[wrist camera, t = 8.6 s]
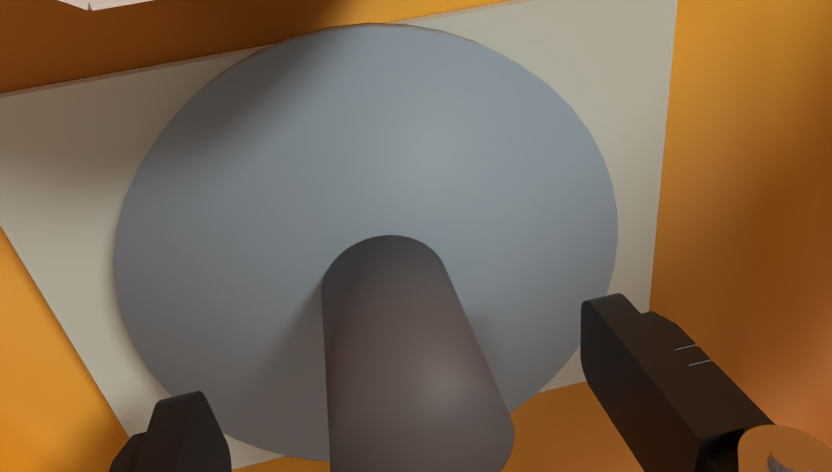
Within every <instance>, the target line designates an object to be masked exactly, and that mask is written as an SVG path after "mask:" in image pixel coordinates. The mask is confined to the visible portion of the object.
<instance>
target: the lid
mask: <svg viewBox="0 0 832 472" xmlns="http://www.w3.org/2000/svg"><path fill="white" fill-rule="evenodd" d="M617 242H618V219H617V207H616V201H615V195H614V189H613V184H612V181H611V178H610V175H609V172H608V169H607V166H606V163H605V160H604V158H603V156H602V154H601V152H600V150H599V148H598V146H597V144H596V142H595V140H594V138H593V137H592V135H591V133H590V131H589V130H588V128H587V127H586V126H585V124H584V123H583V122H582V120H581V119H580V118H579V116H578V115H577V114H576V112H575V111H574V110H573V108H572V107H571V106H570V105H569V104H568V103H567V102H566V101H565V100H564V99H563V98H562V97H561V96H560V95H559V94H558V93H557V92H556V91H554V90H553V89H552V88H551V87H550V86H549V85H548V84H547V83H545V82H544V81H543V80H541V79H540V78H538V77H537V76H536V75H534V74H533V73H531V72H530V71H528V70H527V69H526V68H524V67H523V66H521V65H520V64H518V63H516V62H514V61H513V60H511V59H509V58H507V57H506V56H504V55H502V54H500V53H498V52H496V51H494V50H492V49H490V48H488V47H486V46H484V45H482V44H480V43H478V42H476V41H473V40H470V39H466V38H463V37H460V36H457V35H454V34H451V33H448V32H445V31H442V30H437V29H431V28H425V27H419V26H414V25H408V24H390V23H362V24H352V25H343V26H334V27H328V28H324V29H320V30H316V31H312V32H308V33H304V34H300V35H296V36H292V37H290V38H287V39H285V40H282V41H280V42H278V43H275V44H273V45H270V46H268V47H265V48H263V49H260V50H258V51H256V52H254V53H253V54H251V55H249V56H248V57H246V58H244V59H242V60H241V61H239V62H237V63H236V64H234V65H232V66H231V67H229V68H227V69H226V70H224V71H222V72H221V73H220V74H219V75H217V76H216V77H215V78H214V79H213V80H211V81H210V82H209V83H208V84H206V85H205V86H204V87H203V88H201V89H200V90H199V91H198V92H196V93H195V94H194V95H193V96H192V97H191V98H190V99H189V100H188V102H187V103H186V104H185V105H184V106H183V107H182V108H181V109H180V110H179V111H178V113H177V114H176V115H175V116H174V117H173V118H172V119H171V120H170V121H169V123H168V124H167V125H166V127H165V128H164V129H163V131H162V132H161V133H160V135H159V136H158V138H157V139H156V141H155V142H154V144H153V145H152V147H151V148H150V150H149V151H148V153H147V154H146V156H145V157H144V159H143V160H142V162H141V163H140V165H139V167H138V169H137V171H136V173H135V176H134V178H133V180H132V182H131V184H130V187H129V189H128V191H127V193H126V195H125V198H124V202H123V205H122V209H121V213H120V217H119V221H118V224H117V228H116V236H115V247H114V258H113V266H114V278H115V290H116V296H117V300H118V304H119V308H120V311H121V315H122V319H123V323H124V325H125V327H126V329H127V332H128V334H129V336H130V339H131V341H132V343H133V345H134V348H135V349H136V351H137V353H138V354H139V356H140V357H141V359H142V360H143V362H144V364H145V365H146V367H147V368H148V370H149V371H150V373H151V374H152V375H153V376H154V377H155V379H156V380H157V381H158V382H159V383H160V384H161V386H162V387H163V388H164V389H165V390H166V391H167V392H168V394H170V395H171V396H172V397H174V396H178V395H183V394H187V393H191V392H195V391H201V392H202V393H203V394H204V395H205V397H206V399H207V401H208V403H209V405H210V407H211V409H212V412H213V414H214V416H215V418H216V420H217V422H218V424H219V426H220V428H221V430H222V433H224V434H226V435H228V436H230V437H232V438H234V439H236V440H238V441H241V442H244V443H246V444H249V445H252V446H254V447H257V448H259V449H262V450H266V451H270V452H274V453H277V454H281V455H285V456H289V457H295V458H302V459H308V460H314V461H329V462H330V468H331V472H500V471H501V470H502V468H503V467H504V466H505V464H506V462H507V460H508V458H509V457H510V454H511V451H512V448H513V443H514V427H513V423H512V420H511V417H510V415H509V413H511V412H513V411H514V410H516V409H517V408H518V407H520V406H521V405H522V404H523V403H525V402H526V401H527V400H529V399H530V398H531V397H533V396H534V395H535V394H536V393H537V392H538V391H540V390H541V389H542V388H543V387H544V386H545V385H546V384H547V383H548V382H549V381H550V380H551V379H552V378H554V377H555V375H556V374H557V373H558V372H559V371H560V370H561V369H562V367H563V366H564V365H565V364H566V363H567V362H568V361H569V359H570V358H571V357H572V356H573V354H574V353H575V351H576V350H577V349H578V347H579V346H580V339H581V305H582V303H583V302H584V301H586V300H590V299H594V298H599V297H603V296H606V294H607V292H608V289H609V285H610V281H611V277H612V273H613V269H614V266H615V258H616V250H617Z"/></svg>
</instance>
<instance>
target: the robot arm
mask: <svg viewBox="0 0 832 472" xmlns="http://www.w3.org/2000/svg"><path fill="white" fill-rule="evenodd" d="M580 359H581V365H582V369H583V372H584V375H585V378H586V380H587V382H588V384H589V386H590V388H591V389H592V391H593V393H594V394H595V396H596V397H597V399H598V400H599V402H600V403H601V405H602V406H603V408H604V410H605V411H606V413H607V414H608V416H609V417H610V419H611V420H612V422H613V424H614V425H615V427H616V428H617V430H618V431H619V433H620V434H621V436H622V437H623V439H624V441H625V442H626V444H627V445H628V447H629V448H630V450H631V451H632V453H633V454H634V456H635V458H636V459H637V461H638V462H639V464H640V465H641V467H642V468H643V470H644V471H645V472H832V449H831V448H830V447H829V446H828V445H826V444H825V443H824V442H822V441H821V440H819V439H817V438H816V437H814V436H812V435H810V434H808V433H806V432H803V431H801V430H798V429H795V428H791V427H787V426H781V425H776V424H774V423H773V422H772V421H771V420H770V419H769V418H768V417H767V416H766V415H765V414H764V413H763V412H762V411H761V410H760V409H759V408H758V407H757V406H756V405H755V404H754V403H753V402H752V401H751V400H750V399H749V397H748V396H747V395H746V394H745V393H744V392H743V391H742V390H741V389H740V388H739V387H738V386H737V385H736V384H735V383H734V382H733V381H732V380H731V379H730V378H729V377H728V376H727V375H726V374H725V373H724V372H723V371H722V370H721V369H720V368H719V367H718V366H717V365H716V364H715V363H714V362H711V361H710V358H709V357H708V356H707V355H706V354H705V353H704V352H703V351H702V350H701V349H700V347H699V346H698V347H696V345H695V342H694V341H693V340H692V339H691V338H690V337H689V336H688V335H687V334H686V333H685V332H684V331H683V330H682V329H681V328H680V327H679V326H678V325H677V324H675V323H673V322H671V321H669V320H668V319H666V318H664V317H662V316H660V315H658V314H656V313H655V312H653V311H651V312H646V313H642V314H641V313H640V312H639V311H638V310H637V309H636V308H635V306H634V305H633V304H632V303H631V302H630V301H629V300H628V299H627V298H626V297H625V296H624V295H623V294H621V293H616V294H611V295H607V296H603V297H599V298H594V299H590V300H586V301H584V302H583V303H582V305H581V339H580ZM109 472H232V466H231V455H230V450H229V447H228V443H227V441H226V439H225V437H224V435H223V433H222V430H221V428H220V426H219V424H218V422H217V420H216V418H215V416H214V414H213V412H212V409H211V407H210V405H209V403H208V401H207V399H206V397H205V395H204V394H203V393H202V392H201V391H195V392H191V393H187V394H183V395H178V396H174V397H170V398H166V399H161V400H159V401H158V402H157V403H156V405H155V407H154V410H153V413H152V416H151V419H150V422H149V425H148V428H147V431H146V432H143V433H138V434H134V435H132V436H131V438H130V439H129V440H128V442H127V443H126V444H125V446H124V447H123V448H122V450H121V451H120V452H119V453H118V455H117V456H116V457H115V459H114V460H113V462H112V464H111V467H110V470H109Z"/></svg>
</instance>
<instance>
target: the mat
mask: <svg viewBox="0 0 832 472" xmlns="http://www.w3.org/2000/svg"><path fill="white" fill-rule="evenodd" d="M677 2H678V0H512V1H506V2H501V3H495V4H490V5H484V6H479V7H473V8H468V9H462V10H457V11H451V12H446V13H440V14H435V15H429V16H424V17H418V18H413V19H407V20H402V21H396V22H391V23H390V24H408V25H414V26H419V27H425V28H431V29H437V30H442V31H445V32H448V33H451V34H454V35H457V36H460V37H463V38H466V39H470V40H473V41H476V42H478V43H480V44H482V45H484V46H486V47H488V48H490V49H492V50H494V51H496V52H498V53H500V54H502V55H504V56H506V57H507V58H509V59H511V60H513V61H514V62H516V63H518V64H520V65H521V66H523V67H524V68H526V69H527V70H528V71H530V72H531V73H533V74H534V75H536V76H537V77H538V78H540V79H541V80H543V81H544V82H545V83H547V84H548V85H549V86H550V87H551V88H552V89H553V90H554V91H556V92H557V93H558V94H559V95H560V96H561V97H562V98H563V99H564V100H565V101H566V102H567V103H568V104H569V105H570V106H571V107H572V108H573V110H574V111H575V112H576V114H577V115H578V116H579V118H580V119H581V120H582V122H583V123H584V124H585V126H586V127H587V128H588V130H589V131H590V133H591V135H592V137H593V138H594V140H595V142H596V144H597V146H598V148H599V150H600V152H601V154H602V156H603V158H604V160H605V163H606V166H607V169H608V172H609V175H610V178H611V181H612V184H613V189H614V195H615V201H616V207H617V219H618V242H617V250H616V258H615V266H614V269H613V273H612V277H611V281H610V285H609V289H608V292H607V294H606V296H607V295H611V294H616V293H621V294H623V295H624V296H625V297H626V298H627V299H628V300H629V301H630V302H631V303H632V304H633V305H634V306H635V308H636V309H637V310H638V311H639V312H640V313H641V314H642V313H646V312H649V305H650V294H651V283H652V272H653V261H654V251H655V240H656V229H657V218H658V207H659V197H660V186H661V175H662V164H663V153H664V143H665V132H666V121H667V110H668V99H669V89H670V78H671V67H672V56H673V45H674V35H675V24H676V13H677ZM270 45H273V44H270ZM270 45H264V46H259V47H253V48H248V49H242V50H237V51H231V52H226V53H220V54H215V55H209V56H204V57H198V58H193V59H187V60H182V61H176V62H171V63H165V64H160V65H154V66H149V67H143V68H138V69H132V70H127V71H121V72H116V73H110V74H105V75H99V76H94V77H88V78H83V79H77V80H72V81H66V82H61V83H55V84H50V85H44V86H39V87H33V88H28V89H22V90H17V91H11V92H5V93H0V226H1V227H2V229H3V231H4V232H5V234H6V236H7V237H8V239H9V241H10V242H11V244H12V246H13V247H14V249H15V250H16V252H17V254H18V255H19V257H20V259H21V260H22V262H23V264H24V265H25V267H26V269H27V270H28V272H29V274H30V275H31V277H32V278H33V280H34V282H35V283H36V285H37V287H38V288H39V290H40V292H41V293H42V295H43V297H44V298H45V300H46V302H47V303H48V305H49V306H50V308H51V310H52V311H53V313H54V315H55V316H56V318H57V320H58V321H59V323H60V325H61V326H62V328H63V330H64V331H65V333H66V334H67V336H68V338H69V339H70V341H71V343H72V344H73V346H74V348H75V349H76V351H77V353H78V354H79V356H80V358H81V359H82V361H83V362H84V364H85V366H86V367H87V369H88V371H89V372H90V374H91V376H92V377H93V379H94V381H95V382H96V384H97V386H98V387H99V389H100V390H101V392H102V394H103V395H104V397H105V399H106V400H107V402H108V404H109V405H110V407H111V409H112V410H113V412H114V414H115V415H116V417H117V418H118V420H119V422H120V423H121V425H122V427H123V428H124V430H125V432H126V433H127V435H128V437H129V438H131V436H132V435H134V434H138V433H143V432H146V431H147V428H148V425H149V422H150V419H151V416H152V413H153V410H154V407H155V405H156V403H157V402H158V401H159V400H161V399H166V398H170V397H172V396H171V395H170V394H168V392H167V391H166V390H165V389H164V388H163V387H162V386H161V384H160V383H159V382H158V381H157V380H156V379H155V377H154V376H153V375H152V374H151V373H150V371H149V370H148V368H147V367H146V365H145V364H144V362H143V360H142V359H141V357H140V356H139V354H138V353H137V351H136V349H135V348H134V345H133V343H132V341H131V339H130V336H129V334H128V332H127V329H126V327H125V325H124V323H123V319H122V315H121V311H120V308H119V304H118V300H117V296H116V290H115V278H114V266H113V258H114V247H115V236H116V228H117V224H118V221H119V217H120V213H121V209H122V205H123V202H124V198H125V195H126V193H127V191H128V189H129V187H130V184H131V182H132V180H133V178H134V176H135V173H136V171H137V169H138V167H139V165H140V163H141V162H142V160H143V159H144V157H145V156H146V154H147V153H148V151H149V150H150V148H151V147H152V145H153V144H154V142H155V141H156V139H157V138H158V136H159V135H160V133H161V132H162V131H163V129H164V128H165V127H166V125H167V124H168V123H169V121H170V120H171V119H172V118H173V117H174V116H175V115H176V114H177V113H178V111H179V110H180V109H181V108H182V107H183V106H184V105H185V104H186V103H187V102H188V100H189V99H190V98H191V97H192V96H193V95H194V94H195V93H196V92H198V91H199V90H200V89H201V88H203V87H204V86H205V85H206V84H208V83H209V82H210V81H211V80H213V79H214V78H215V77H216V76H217V75H219V74H220V73H221V72H222V71H224V70H226V69H227V68H229V67H231V66H232V65H234V64H236V63H237V62H239V61H241V60H242V59H244V58H246V57H248V56H249V55H251V54H253V53H254V52H256V51H258V50H260V49H263V48H265V47H268V46H270ZM585 381H587V380H586V378H585V375H584V372H583V369H582V365H581V359H580V346H579V347H578V349H577V350H576V351H575V353H574V354H573V356H572V357H571V358H570V359H569V361H568V362H567V363H566V364H565V365H564V366H563V367H562V369H561V370H560V371H559V372H558V373H557V374H556V375H555V377H554V378H552V379H551V380H550V381H549V382H548V383H547V384H546V385H545V386H544V387H543V388H542V389H541V390H540V391H538V392H537V393H541V392H545V391H549V390H553V389H557V388H561V387H565V386H569V385H573V384H577V383H581V382H585ZM537 393H536V394H537ZM223 435H224V437H225V439H226V441H227V443H228V447H229V450H230V455H231V466H232V470H233V469H237V468H241V467H245V466H249V465H253V464H257V463H261V462H265V461H269V460H273V459H277V458H281V457H285V455H281V454H277V453H274V452H270V451H266V450H262V449H259V448H257V447H254V446H252V445H249V444H246V443H244V442H241V441H238V440H236V439H234V438H232V437H230V436H228V435H226V434H224V433H223Z"/></svg>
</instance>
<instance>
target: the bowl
mask: <svg viewBox="0 0 832 472" xmlns="http://www.w3.org/2000/svg"><path fill="white" fill-rule="evenodd" d="M59 1H62V2H65V3H68V4H71V5H73V6H76V7H79V8H82V9H85V10H90V9H92V11H94V10H100V9H105V8H111V7H117V6H123V5H129V4H135V3H140V2H146V1H152V0H59Z"/></svg>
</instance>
